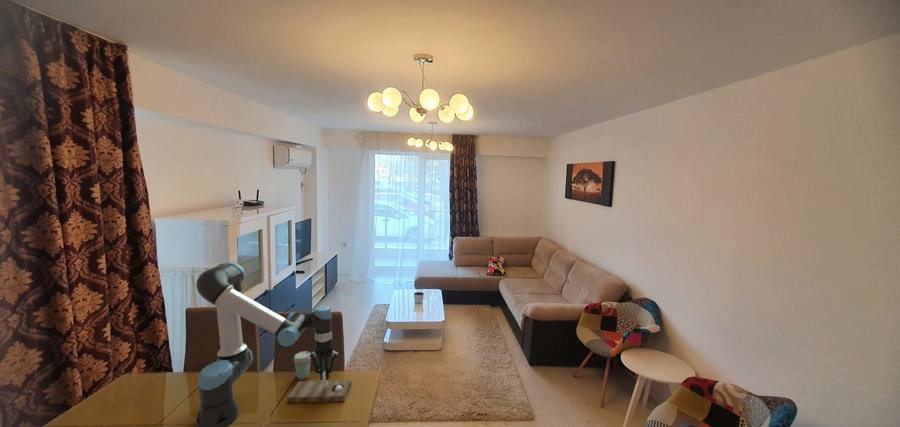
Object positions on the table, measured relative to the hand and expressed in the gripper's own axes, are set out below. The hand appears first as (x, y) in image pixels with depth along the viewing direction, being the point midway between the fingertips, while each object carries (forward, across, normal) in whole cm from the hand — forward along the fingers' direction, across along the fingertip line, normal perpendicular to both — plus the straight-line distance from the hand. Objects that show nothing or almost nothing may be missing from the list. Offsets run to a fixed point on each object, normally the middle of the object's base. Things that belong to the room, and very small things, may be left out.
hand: (325, 385), depth 158 cm
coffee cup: (+4, -16, +14) cm, 22 cm away
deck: (+4, -2, 0) cm, 4 cm away
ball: (+2, +6, 0) cm, 7 cm away
